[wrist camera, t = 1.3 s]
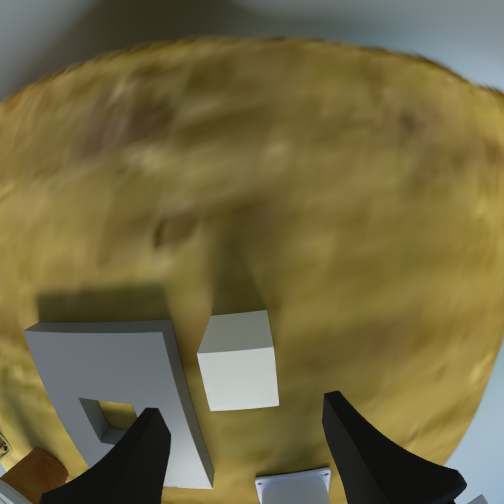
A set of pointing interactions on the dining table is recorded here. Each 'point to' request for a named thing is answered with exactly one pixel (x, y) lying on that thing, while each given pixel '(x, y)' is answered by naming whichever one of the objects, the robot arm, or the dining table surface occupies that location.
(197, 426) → the socket plate
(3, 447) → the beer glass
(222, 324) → the plug block
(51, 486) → the disposable coffee cup
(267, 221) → the dining table surface
